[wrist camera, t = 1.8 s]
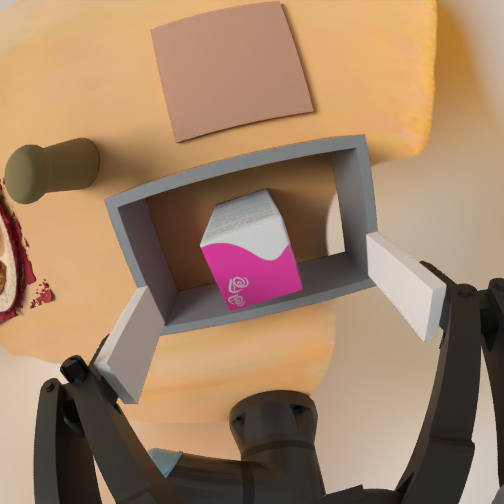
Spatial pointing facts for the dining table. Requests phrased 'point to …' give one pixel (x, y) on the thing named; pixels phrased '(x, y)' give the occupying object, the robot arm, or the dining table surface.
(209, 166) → the rectangular frame
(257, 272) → the supplement box
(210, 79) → the mat
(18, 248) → the plate with food
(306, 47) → the dining table surface
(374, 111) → the dining table surface
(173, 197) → the dining table surface
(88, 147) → the cork
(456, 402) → the robot arm
